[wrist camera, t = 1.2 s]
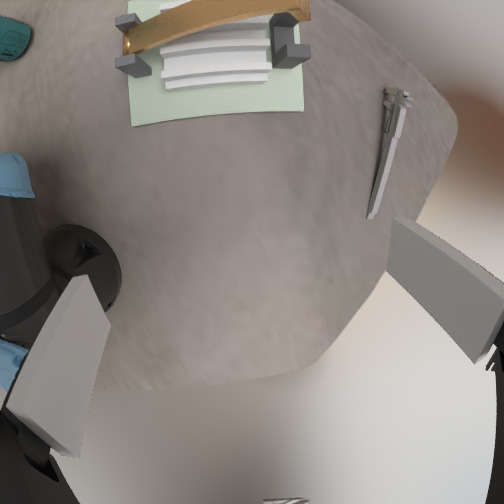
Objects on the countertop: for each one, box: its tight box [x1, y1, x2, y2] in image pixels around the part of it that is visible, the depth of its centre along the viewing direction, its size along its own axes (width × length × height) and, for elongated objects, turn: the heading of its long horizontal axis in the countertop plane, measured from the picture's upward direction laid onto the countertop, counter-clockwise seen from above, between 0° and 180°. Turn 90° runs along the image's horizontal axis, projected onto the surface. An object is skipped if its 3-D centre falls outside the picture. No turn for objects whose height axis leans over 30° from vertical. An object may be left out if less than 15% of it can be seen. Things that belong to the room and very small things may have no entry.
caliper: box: [366, 88, 413, 219], centre depth 34 cm, size 20×1×6 cm, turn 176°
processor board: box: [115, 0, 311, 127], centre depth 23 cm, size 21×18×10 cm
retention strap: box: [123, 0, 312, 56], centre depth 17 cm, size 18×3×4 cm
